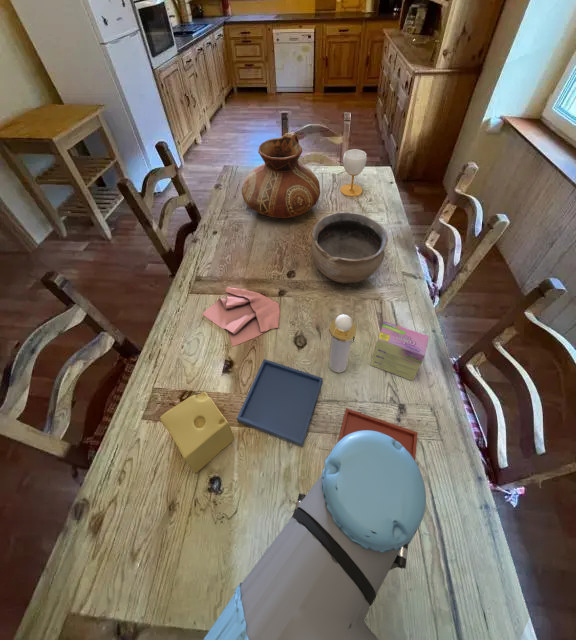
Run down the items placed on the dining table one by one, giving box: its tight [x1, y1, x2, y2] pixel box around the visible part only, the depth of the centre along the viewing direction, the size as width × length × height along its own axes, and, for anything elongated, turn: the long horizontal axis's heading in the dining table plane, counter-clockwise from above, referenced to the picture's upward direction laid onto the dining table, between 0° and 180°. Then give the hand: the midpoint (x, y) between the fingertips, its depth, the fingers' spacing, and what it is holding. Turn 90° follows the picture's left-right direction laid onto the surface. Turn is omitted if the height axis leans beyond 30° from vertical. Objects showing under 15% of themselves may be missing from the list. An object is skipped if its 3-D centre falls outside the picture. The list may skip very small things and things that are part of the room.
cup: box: [340, 148, 368, 197], centre depth 135 cm, size 9×9×16 cm
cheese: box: [159, 391, 235, 474], centre depth 70 cm, size 10×11×10 cm
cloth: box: [201, 287, 281, 347], centre depth 97 cm, size 20×22×2 cm
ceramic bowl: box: [310, 211, 389, 284], centre depth 103 cm, size 22×22×15 cm
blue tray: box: [236, 358, 324, 448], centre depth 78 cm, size 15×15×2 cm
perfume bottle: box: [328, 313, 357, 373], centre depth 78 cm, size 6×6×20 cm
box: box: [370, 320, 430, 382], centre depth 81 cm, size 10×6×12 cm, turn 65°
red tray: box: [337, 407, 419, 461], centre depth 69 cm, size 15×15×2 cm
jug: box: [241, 132, 321, 219], centre depth 127 cm, size 30×30×25 cm
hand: (339, 546), depth 51 cm, fingers closed on blue block, 4 cm apart
